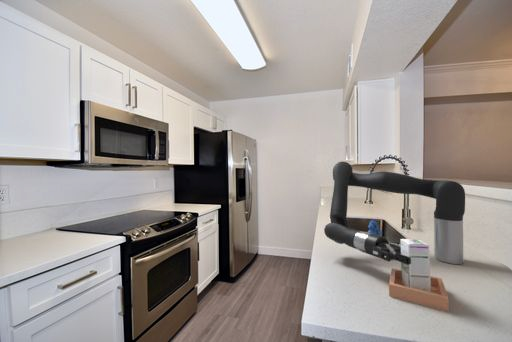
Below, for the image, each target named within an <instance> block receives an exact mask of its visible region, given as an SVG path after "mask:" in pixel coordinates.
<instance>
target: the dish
mask: <svg viewBox="0 0 512 342" xmlns="http://www.w3.org/2000/svg"><path fill="white" fill-rule="evenodd" d="M430 283H431V292H428V291H424V290H419V289H415V288H411V287H407V286H404V285H403V284H402V274H401V269H397V268H391V270H390V277H389V283H388V296H389V297H392V298H396V299H399V300H403V301H407V302H410V303H413V304H414V303H415V304H419V305H421V304H422V305H421V306H425V305H426V306H425V307H430V308H433V309H438V310H441V311H444V312H448V313H449V312H450V311H449V297H448V296H449V295H448V293H447V289H446V287H445V284H444V281H443V278H442V277H441V278H440V277H437V276H431V275H430Z"/></svg>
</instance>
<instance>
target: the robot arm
mask: <svg viewBox="0 0 512 342" xmlns="http://www.w3.org/2000/svg"><path fill="white" fill-rule="evenodd" d="M332 179H333V184H334V185H333V191H332V197H331V205H330V213H329V217H330V219H331V221H332V222H329V223H327V224H326V225H325V226H324V231H323V233H324V234H325V237H326V238H328V239H329V240H332V241H333V242H335V243H337V244H339V245H346V246H347V247H350V248H353V249H354V250H355V249H356V250H358V251H360V252H362V253H365V254H367V255H370V256H372V257H375V258H379V259H380V260H384V261H386V262H391V261H392V262H398V263H400V264H401V263H404V264H407V265H410V264H411V258H410V257H408V256H405V255H402V254H401V242H399V241H398V242H396V243H393V242H390V243H389V240H388V238H386V237H385V236H383V235H380V236H379V235H376V234H372V233H368V231H361V230H357V229H353V228H350V227H349V225H348V219H347V217H348V200H349V199H348V192H349V191H348V190H349V186H350V187H357V188H358V187H360V188H365V189H371V190H377V191H382V192H388V193H393V194H400V195H401V194H402V195H417V196H423V197H427V198H431V199H435V209H434V211H433V232H434V233H433V234H434V235H433V238H434V239H433V240H434V242H433V243H434V244H433V245H434V249H433V250H434V252H433V253H434V255H433V256H434V259H435V258H436V259H435V260H437V261H440V262H442V263H446V264H452V265H453V264H454V265H463V264H464V215H465V211H466V192H465V187H464V186H463V185H462V184H460V183H459V182H457V181H454V180H444V179H443V180H437V179H425V178H419V177H414V176H410V175H407V174H403V173H398V172H392V171H376V172H371V173H370V172H369V173H358V172H353V166H352V165H351V163H349V162H347V161H338V162H337V163H335V165H334V166H333V168H332Z"/></svg>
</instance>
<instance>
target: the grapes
mask: <svg viewBox="0 0 512 342" xmlns="http://www.w3.org/2000/svg"><path fill="white" fill-rule="evenodd" d="M368 224H369V225H367V227H368V231H367V232H368V233H372V234H376V235H379V236H382V234H383V231H382V230H380V228H379V227H378V225H379V224H378V223H377V221H375V220H370V221H369V223H368Z"/></svg>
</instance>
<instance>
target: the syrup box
mask: <svg viewBox="0 0 512 342" xmlns="http://www.w3.org/2000/svg"><path fill="white" fill-rule="evenodd" d="M400 243H401V254H402V255H405V256H408V257H410V258H411V264H410V265H407V264H404V263H401V262H400V265H401V267H400V270H401V274H402V284H403V285H404V286H407V287H411V288H415V289H419V290H424V291H428V292H431V283H430V276H431V265H430V264H431V263H430V261H431V259H430V244H428V243H426V242H424V241H422V240H421V239H415V238H400Z"/></svg>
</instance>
